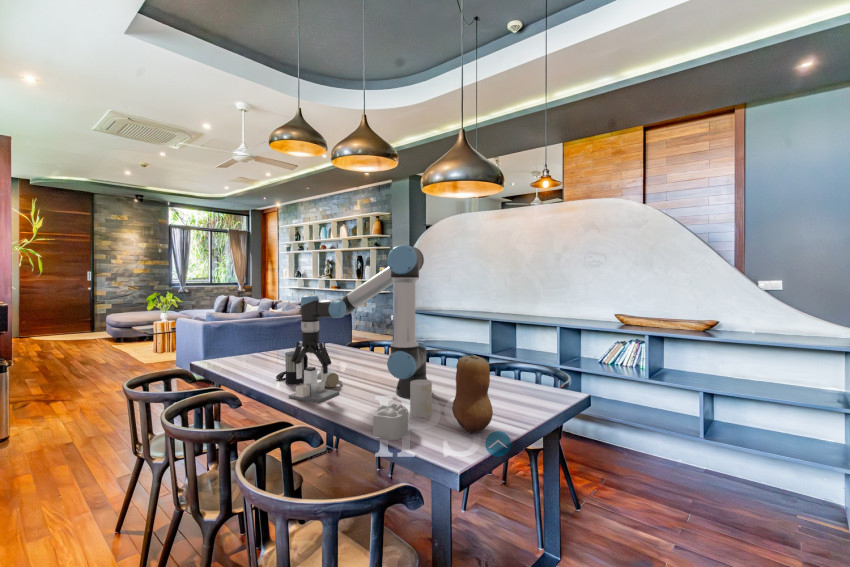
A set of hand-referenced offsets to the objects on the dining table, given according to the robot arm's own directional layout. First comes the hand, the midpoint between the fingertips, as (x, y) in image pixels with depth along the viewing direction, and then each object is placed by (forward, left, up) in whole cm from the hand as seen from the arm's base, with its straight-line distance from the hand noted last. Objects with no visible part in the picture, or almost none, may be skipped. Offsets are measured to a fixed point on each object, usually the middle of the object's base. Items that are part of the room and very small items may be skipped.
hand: (311, 379), depth 181 cm
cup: (-54, +1, -7) cm, 54 cm away
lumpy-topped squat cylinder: (-53, +22, -7) cm, 58 cm away
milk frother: (+26, -15, -7) cm, 31 cm away
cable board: (-2, 0, -7) cm, 7 cm away
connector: (0, 0, -6) cm, 6 cm away
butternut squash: (-77, +9, -7) cm, 77 cm away
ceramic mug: (+2, -16, -7) cm, 18 cm away
